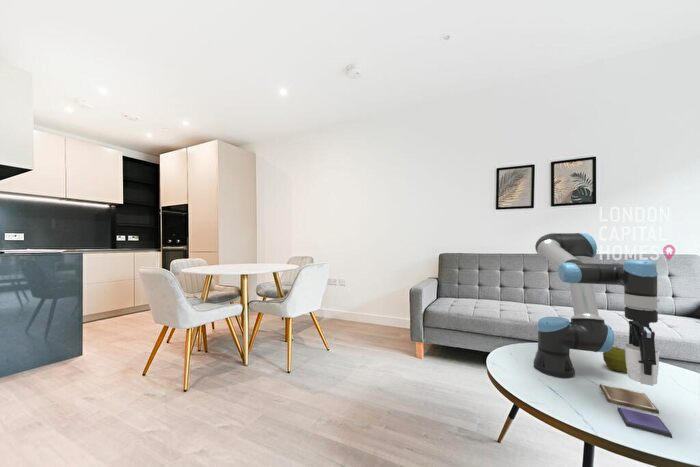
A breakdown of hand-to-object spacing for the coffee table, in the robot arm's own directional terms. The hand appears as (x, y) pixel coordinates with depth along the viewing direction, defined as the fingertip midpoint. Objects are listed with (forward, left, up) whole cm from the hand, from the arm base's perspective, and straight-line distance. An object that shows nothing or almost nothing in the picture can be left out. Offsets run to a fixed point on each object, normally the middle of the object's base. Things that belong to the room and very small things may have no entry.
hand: (641, 378), depth 91 cm
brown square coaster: (0, +16, -14) cm, 21 cm away
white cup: (0, 0, -1) cm, 1 cm away
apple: (+4, +46, -14) cm, 48 cm away
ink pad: (0, 0, -14) cm, 14 cm away
